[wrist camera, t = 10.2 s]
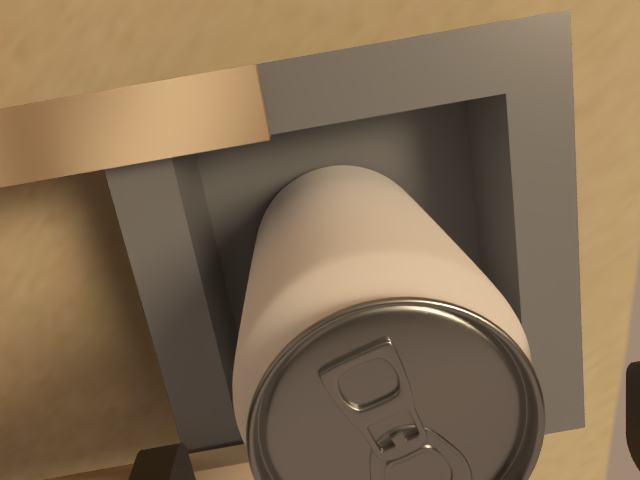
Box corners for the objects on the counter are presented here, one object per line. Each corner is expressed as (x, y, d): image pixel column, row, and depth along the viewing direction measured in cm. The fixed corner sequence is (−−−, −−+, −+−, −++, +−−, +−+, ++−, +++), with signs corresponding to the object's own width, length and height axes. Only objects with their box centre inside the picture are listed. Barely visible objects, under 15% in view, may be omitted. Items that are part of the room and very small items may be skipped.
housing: (213, 414, 25) (196, 496, 20) (129, 88, 21) (82, 94, 16) (528, 358, 25) (584, 427, 20) (505, 22, 21) (570, 9, 16)
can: (303, 348, 23) (318, 622, 12) (225, 210, 21) (153, 375, 10) (449, 279, 23) (613, 495, 11) (381, 132, 21) (496, 210, 9)
